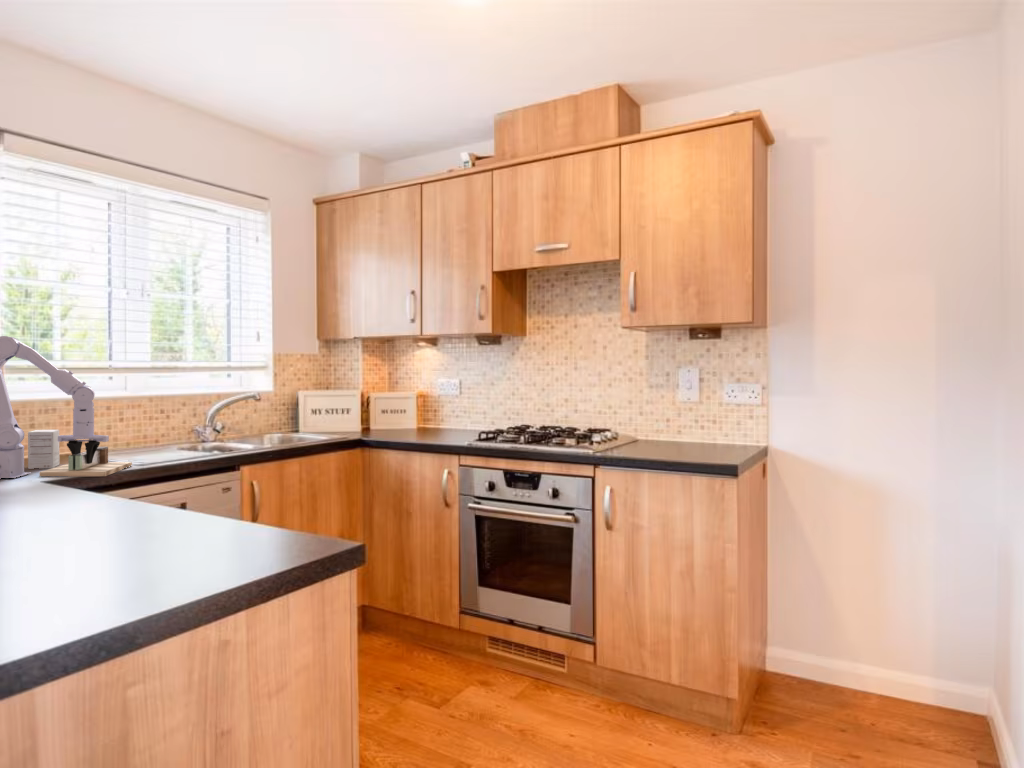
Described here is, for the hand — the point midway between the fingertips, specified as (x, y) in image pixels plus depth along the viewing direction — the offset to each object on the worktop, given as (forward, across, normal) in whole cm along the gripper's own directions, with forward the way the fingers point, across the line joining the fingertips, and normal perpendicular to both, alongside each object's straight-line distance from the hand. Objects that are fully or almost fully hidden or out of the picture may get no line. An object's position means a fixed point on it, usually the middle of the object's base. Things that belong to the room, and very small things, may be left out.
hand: (83, 463), depth 207 cm
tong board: (+3, 0, +2) cm, 4 cm away
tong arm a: (+1, +1, +1) cm, 2 cm away
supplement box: (+3, -18, +12) cm, 22 cm away
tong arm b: (+1, -1, +1) cm, 2 cm away
